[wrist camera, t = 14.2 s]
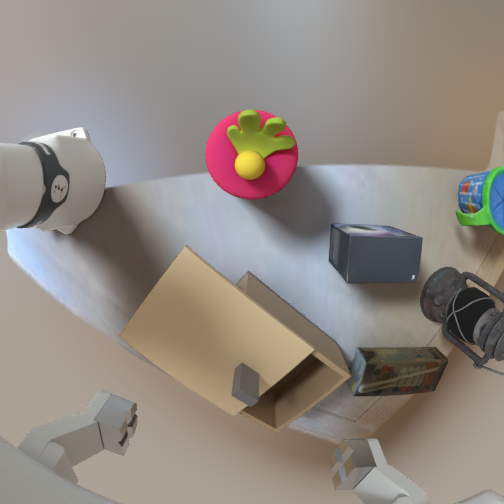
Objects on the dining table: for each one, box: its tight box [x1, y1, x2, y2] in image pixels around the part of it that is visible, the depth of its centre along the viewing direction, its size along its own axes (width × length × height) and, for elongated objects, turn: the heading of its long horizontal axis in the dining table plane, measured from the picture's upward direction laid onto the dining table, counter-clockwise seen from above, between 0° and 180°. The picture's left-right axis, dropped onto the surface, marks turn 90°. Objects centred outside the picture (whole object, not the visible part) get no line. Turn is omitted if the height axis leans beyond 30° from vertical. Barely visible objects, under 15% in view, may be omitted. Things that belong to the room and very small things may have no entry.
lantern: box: [420, 267, 504, 375], centre depth 30 cm, size 12×11×30 cm
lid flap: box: [119, 245, 315, 416], centre depth 33 cm, size 21×17×6 cm
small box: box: [329, 224, 423, 283], centre depth 38 cm, size 11×6×10 cm, turn 90°
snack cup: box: [456, 166, 504, 235], centre depth 35 cm, size 16×10×10 cm
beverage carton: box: [347, 347, 448, 396], centre depth 45 cm, size 8×19×7 cm, turn 83°
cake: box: [206, 110, 298, 199], centre depth 33 cm, size 10×10×15 cm
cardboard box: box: [236, 271, 351, 433], centre depth 42 cm, size 20×16×10 cm
